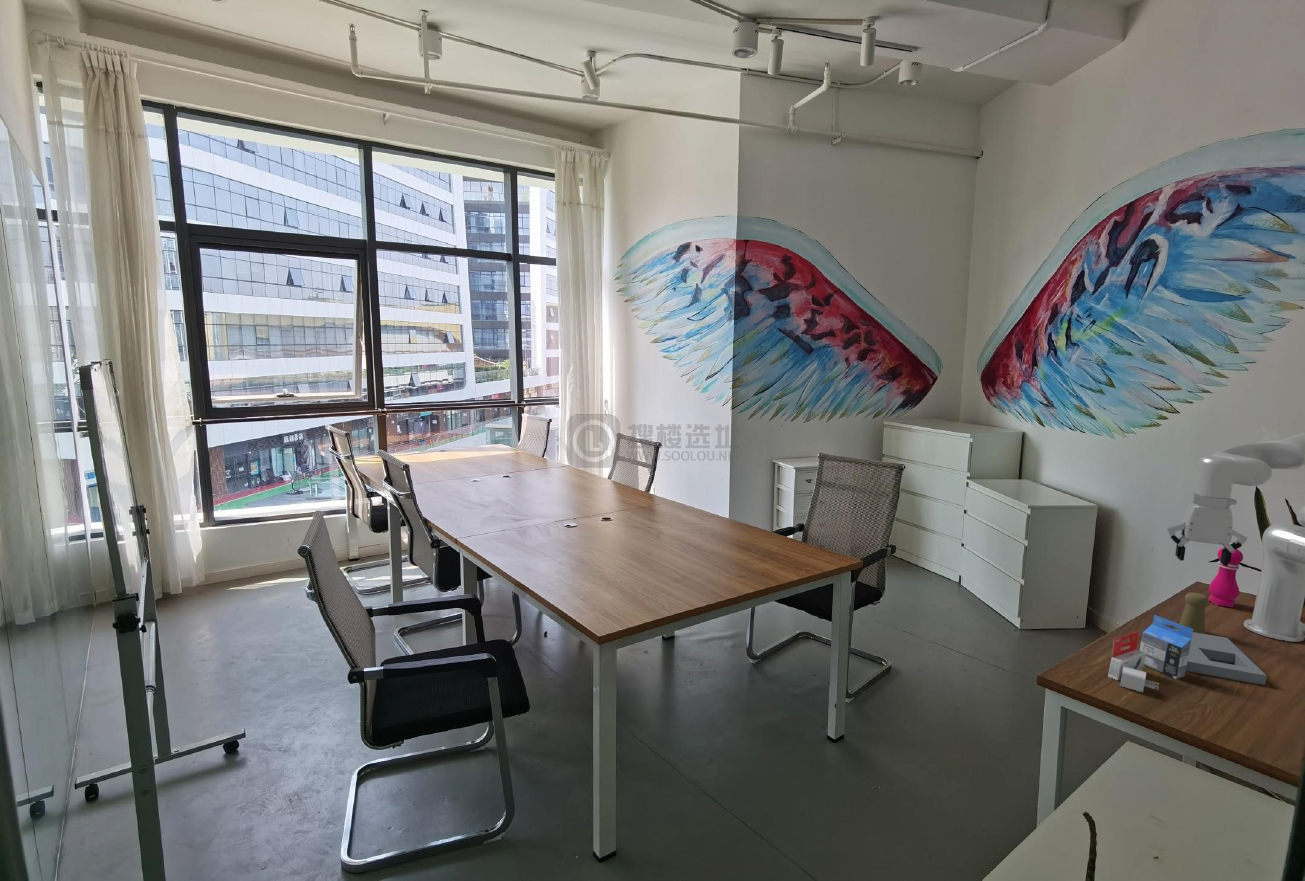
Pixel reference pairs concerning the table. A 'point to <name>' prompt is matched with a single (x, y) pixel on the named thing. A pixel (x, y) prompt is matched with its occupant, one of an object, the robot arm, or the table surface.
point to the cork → (1194, 612)
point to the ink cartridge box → (1125, 656)
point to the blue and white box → (1166, 647)
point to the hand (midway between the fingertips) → (1201, 561)
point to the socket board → (1221, 659)
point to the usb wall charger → (1135, 680)
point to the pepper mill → (1226, 581)
